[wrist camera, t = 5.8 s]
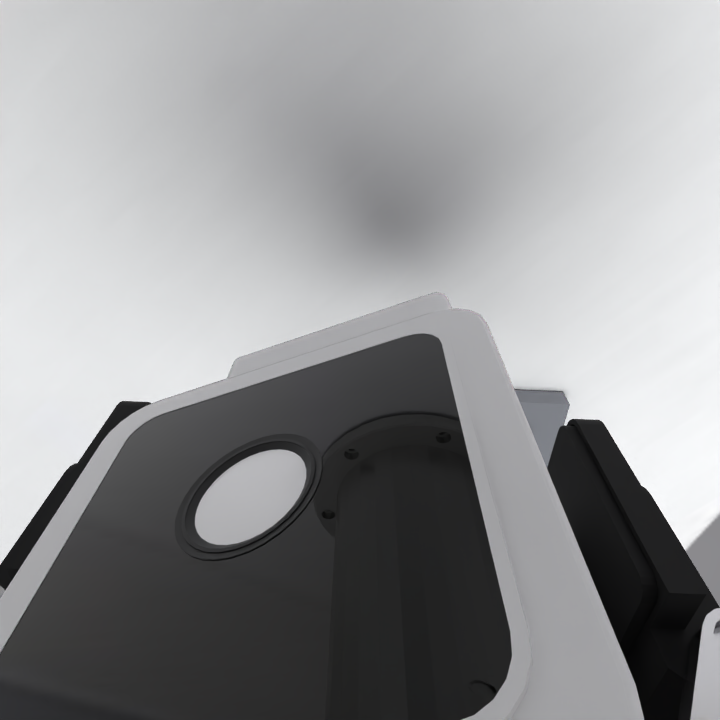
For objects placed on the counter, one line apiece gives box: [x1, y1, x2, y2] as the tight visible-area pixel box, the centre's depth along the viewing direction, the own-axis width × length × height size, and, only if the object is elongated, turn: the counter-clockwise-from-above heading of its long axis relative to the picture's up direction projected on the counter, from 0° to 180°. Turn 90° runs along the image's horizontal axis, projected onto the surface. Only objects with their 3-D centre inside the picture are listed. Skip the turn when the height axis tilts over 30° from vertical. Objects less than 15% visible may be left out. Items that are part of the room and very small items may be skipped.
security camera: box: [0, 292, 644, 720], centre depth 9 cm, size 6×7×10 cm
